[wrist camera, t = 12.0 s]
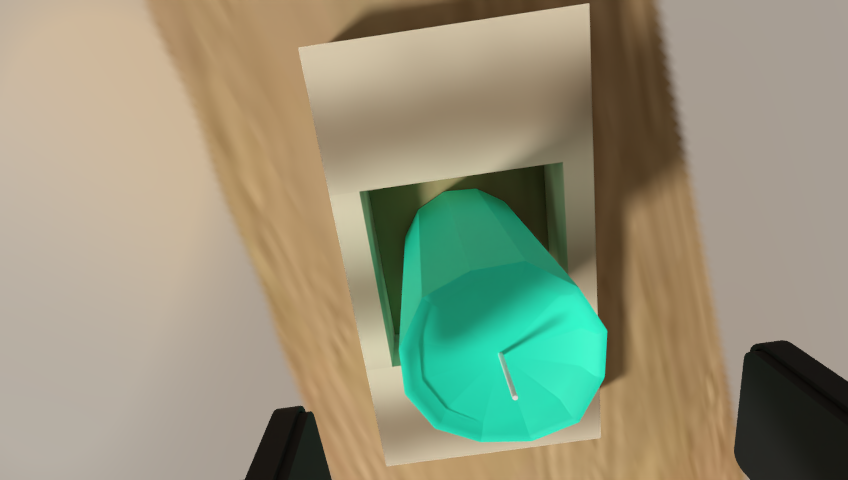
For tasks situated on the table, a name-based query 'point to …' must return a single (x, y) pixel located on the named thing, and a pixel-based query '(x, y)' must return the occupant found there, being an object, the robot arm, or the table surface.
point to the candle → (493, 325)
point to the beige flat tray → (454, 167)
